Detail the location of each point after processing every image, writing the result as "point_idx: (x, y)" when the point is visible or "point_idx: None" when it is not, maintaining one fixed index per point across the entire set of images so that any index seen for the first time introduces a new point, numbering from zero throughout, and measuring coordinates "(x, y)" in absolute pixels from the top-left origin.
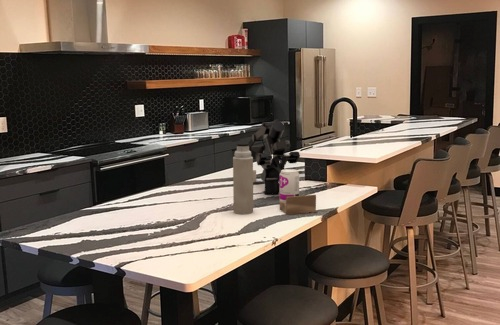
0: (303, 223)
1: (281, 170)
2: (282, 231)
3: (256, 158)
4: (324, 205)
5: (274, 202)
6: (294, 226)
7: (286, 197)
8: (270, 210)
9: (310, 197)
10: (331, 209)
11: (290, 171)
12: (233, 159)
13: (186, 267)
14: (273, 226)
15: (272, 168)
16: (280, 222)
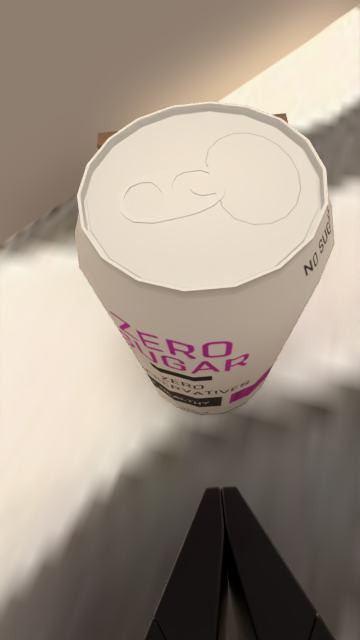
0: (233, 97)
1: (318, 218)
2: (329, 44)
3: None
4: (18, 305)
5: (287, 456)
6: (276, 76)
7: (287, 121)
8: (342, 275)
9: None
10: (31, 234)
11: (196, 158)
12: None
13: None
14: (355, 82)
15: None
16: (320, 114)
